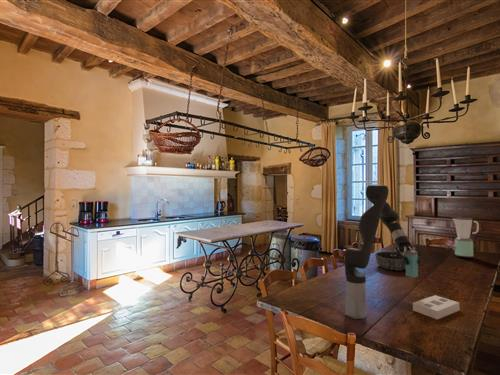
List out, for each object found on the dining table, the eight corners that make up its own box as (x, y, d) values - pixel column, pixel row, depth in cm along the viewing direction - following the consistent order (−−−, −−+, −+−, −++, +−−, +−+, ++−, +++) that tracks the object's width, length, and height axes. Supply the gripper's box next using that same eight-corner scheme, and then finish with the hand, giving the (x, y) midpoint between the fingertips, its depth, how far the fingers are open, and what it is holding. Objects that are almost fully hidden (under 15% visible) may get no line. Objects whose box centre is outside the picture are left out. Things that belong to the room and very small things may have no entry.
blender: (451, 257, 258) (451, 217, 258) (453, 254, 269) (452, 216, 268) (479, 260, 246) (478, 218, 246) (479, 257, 257) (478, 217, 257)
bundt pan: (419, 268, 226) (419, 255, 226) (401, 275, 211) (400, 261, 211) (386, 261, 248) (386, 249, 248) (368, 267, 233) (367, 254, 233)
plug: (413, 277, 163) (412, 252, 163) (405, 275, 166) (405, 251, 167) (418, 276, 165) (417, 251, 165) (410, 274, 169) (410, 250, 169)
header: (437, 319, 141) (437, 310, 141) (413, 310, 151) (412, 302, 151) (459, 310, 150) (459, 302, 150) (435, 302, 161) (435, 294, 161)
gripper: (391, 235, 172) (404, 261, 161) (414, 234, 174) (429, 260, 162) (386, 242, 178) (398, 268, 166) (409, 242, 179) (422, 267, 167)
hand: (413, 263), depth 164 cm, fingers closed on plug, 5 cm apart
